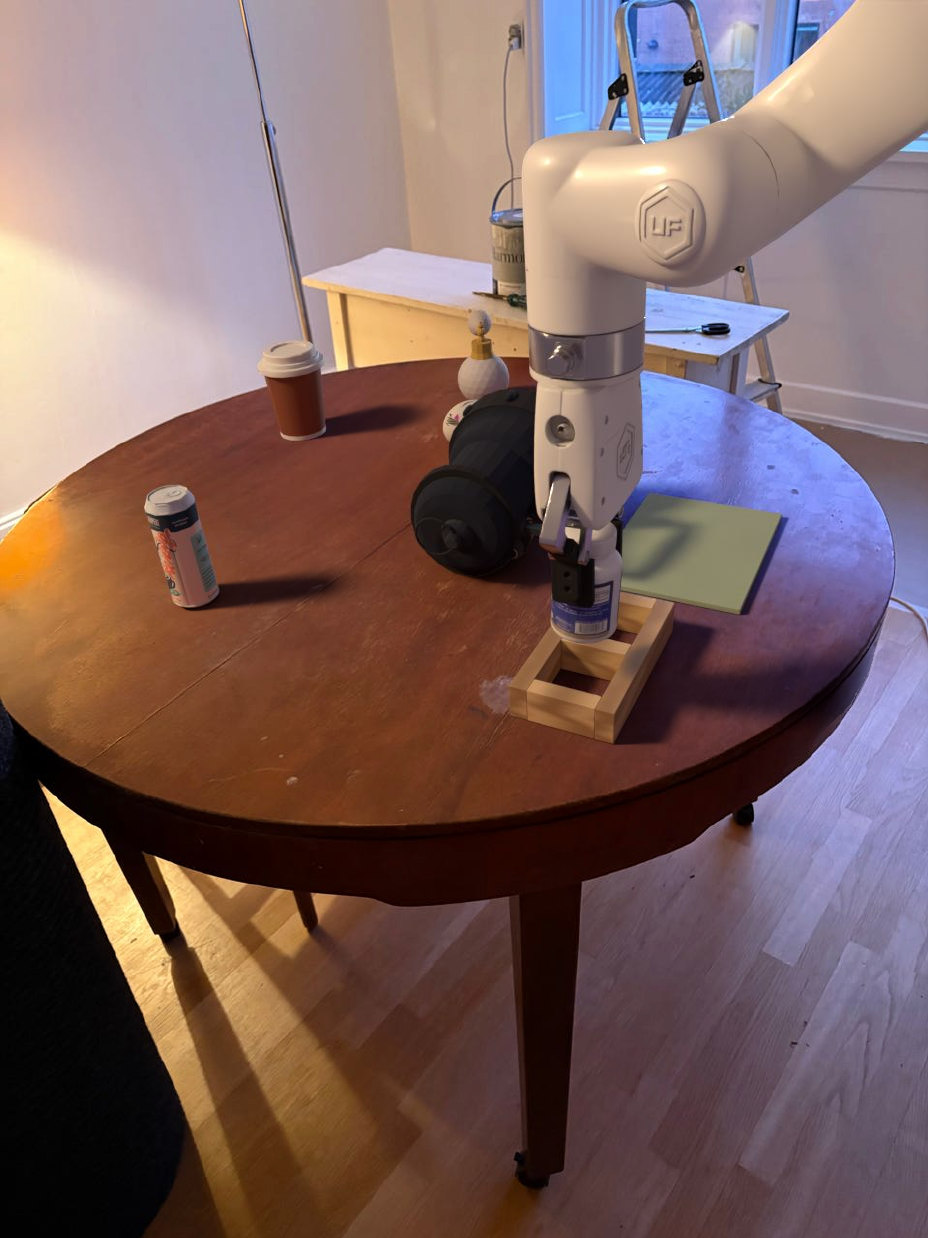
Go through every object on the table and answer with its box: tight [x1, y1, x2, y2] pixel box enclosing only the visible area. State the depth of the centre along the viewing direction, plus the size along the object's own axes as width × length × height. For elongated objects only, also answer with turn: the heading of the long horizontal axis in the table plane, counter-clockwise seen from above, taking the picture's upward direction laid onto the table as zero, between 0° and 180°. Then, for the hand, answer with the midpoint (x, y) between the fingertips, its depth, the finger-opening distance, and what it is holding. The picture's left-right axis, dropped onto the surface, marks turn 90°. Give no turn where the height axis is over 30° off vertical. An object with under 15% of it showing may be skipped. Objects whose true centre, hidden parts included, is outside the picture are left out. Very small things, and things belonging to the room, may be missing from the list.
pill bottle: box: [550, 522, 623, 644], centre depth 68 cm, size 5×5×9 cm
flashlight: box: [410, 387, 578, 577], centre depth 92 cm, size 15×21×20 cm
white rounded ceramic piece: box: [442, 399, 477, 442], centre depth 116 cm, size 8×6×7 cm
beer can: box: [143, 484, 220, 609], centre depth 88 cm, size 5×5×12 cm
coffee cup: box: [256, 339, 327, 442], centre depth 123 cm, size 9×9×12 cm
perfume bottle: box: [457, 309, 510, 401], centre depth 129 cm, size 8×10×12 cm
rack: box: [508, 591, 676, 745], centre depth 77 cm, size 9×16×3 cm, turn 153°
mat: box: [620, 492, 783, 616], centre depth 93 cm, size 15×20×1 cm
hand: (587, 580), depth 68 cm, fingers closed on pill bottle, 5 cm apart
